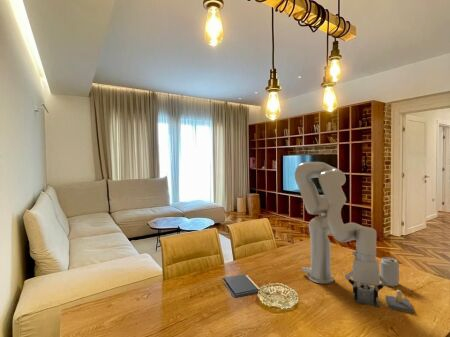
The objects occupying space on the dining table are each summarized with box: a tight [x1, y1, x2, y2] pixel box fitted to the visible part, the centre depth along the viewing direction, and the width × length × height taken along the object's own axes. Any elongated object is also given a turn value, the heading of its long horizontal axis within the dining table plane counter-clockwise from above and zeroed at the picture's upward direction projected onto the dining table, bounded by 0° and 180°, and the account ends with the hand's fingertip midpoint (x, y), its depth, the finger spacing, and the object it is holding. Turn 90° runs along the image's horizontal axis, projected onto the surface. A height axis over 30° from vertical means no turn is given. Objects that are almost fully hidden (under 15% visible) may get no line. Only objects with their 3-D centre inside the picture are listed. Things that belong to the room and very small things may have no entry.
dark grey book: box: [221, 274, 261, 299], centre depth 123 cm, size 20×2×15 cm
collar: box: [357, 283, 375, 302], centre depth 109 cm, size 7×7×4 cm
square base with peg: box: [385, 289, 414, 314], centre depth 104 cm, size 8×8×6 cm
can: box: [379, 256, 400, 288], centre depth 122 cm, size 8×8×12 cm
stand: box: [353, 286, 380, 308], centre depth 109 cm, size 9×9×6 cm
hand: (365, 296), depth 109 cm, fingers closed on collar, 6 cm apart
